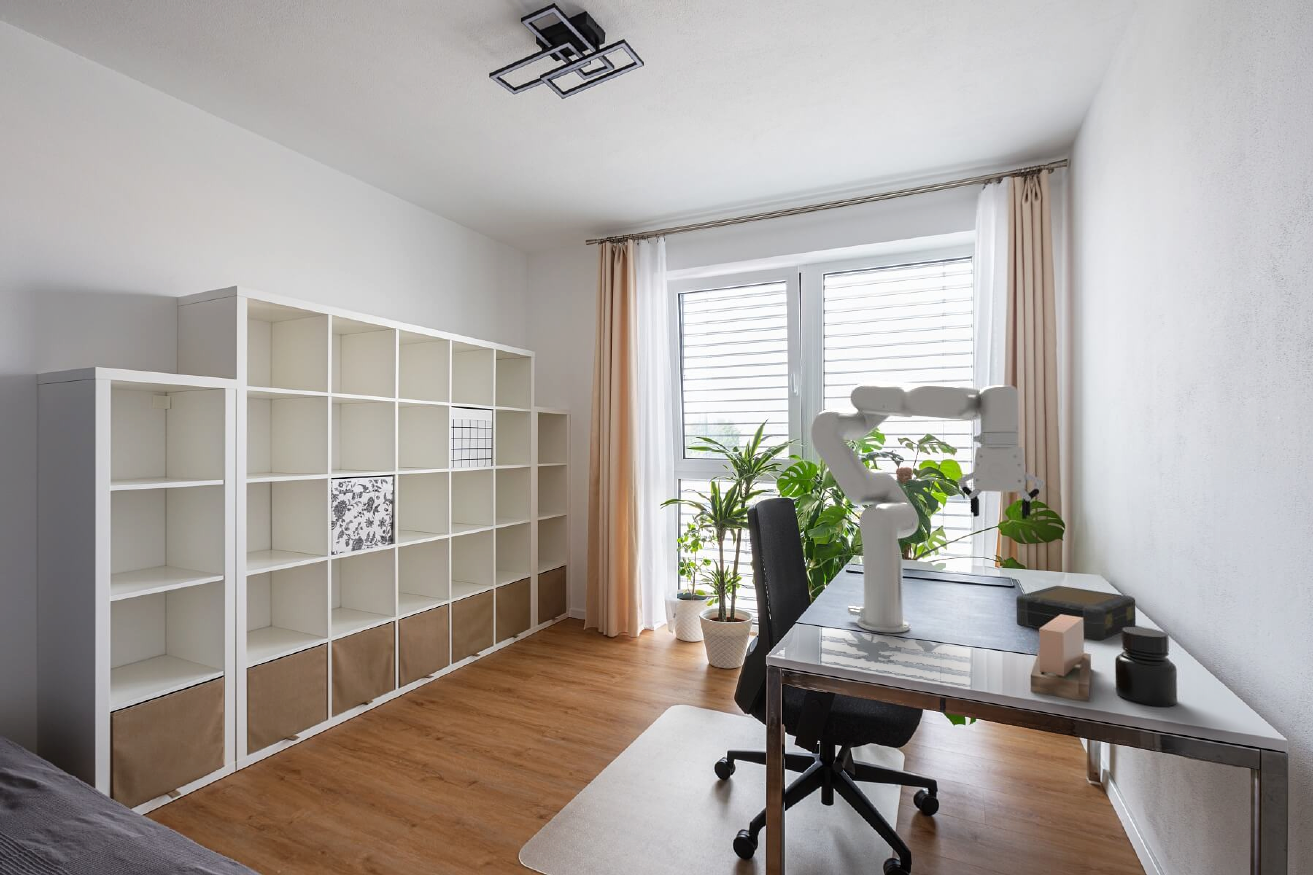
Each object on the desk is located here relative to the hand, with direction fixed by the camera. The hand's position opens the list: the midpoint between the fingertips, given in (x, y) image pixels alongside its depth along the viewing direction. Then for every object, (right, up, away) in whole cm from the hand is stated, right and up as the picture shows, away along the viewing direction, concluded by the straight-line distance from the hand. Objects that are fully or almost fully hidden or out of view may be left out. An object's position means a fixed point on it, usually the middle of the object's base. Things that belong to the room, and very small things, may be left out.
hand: (1000, 517), depth 145 cm
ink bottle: (+12, -30, -27) cm, 42 cm away
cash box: (+33, -32, +25) cm, 51 cm away
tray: (+3, -30, -17) cm, 35 cm away
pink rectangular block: (+3, -27, -17) cm, 32 cm away
